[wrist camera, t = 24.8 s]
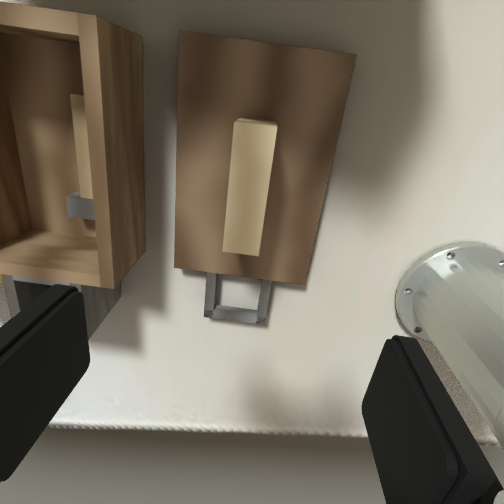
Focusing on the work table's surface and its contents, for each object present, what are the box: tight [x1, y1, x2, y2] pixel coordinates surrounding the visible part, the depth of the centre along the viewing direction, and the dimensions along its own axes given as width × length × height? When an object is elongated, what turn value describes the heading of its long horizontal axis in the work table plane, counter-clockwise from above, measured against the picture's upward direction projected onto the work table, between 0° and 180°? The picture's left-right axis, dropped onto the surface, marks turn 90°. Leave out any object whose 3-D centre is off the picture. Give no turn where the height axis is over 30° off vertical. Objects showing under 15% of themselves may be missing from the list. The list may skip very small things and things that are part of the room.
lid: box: [174, 31, 356, 325], centre depth 30 cm, size 14×27×8 cm, turn 173°
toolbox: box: [0, 2, 145, 340], centre depth 29 cm, size 13×26×8 cm, turn 173°
